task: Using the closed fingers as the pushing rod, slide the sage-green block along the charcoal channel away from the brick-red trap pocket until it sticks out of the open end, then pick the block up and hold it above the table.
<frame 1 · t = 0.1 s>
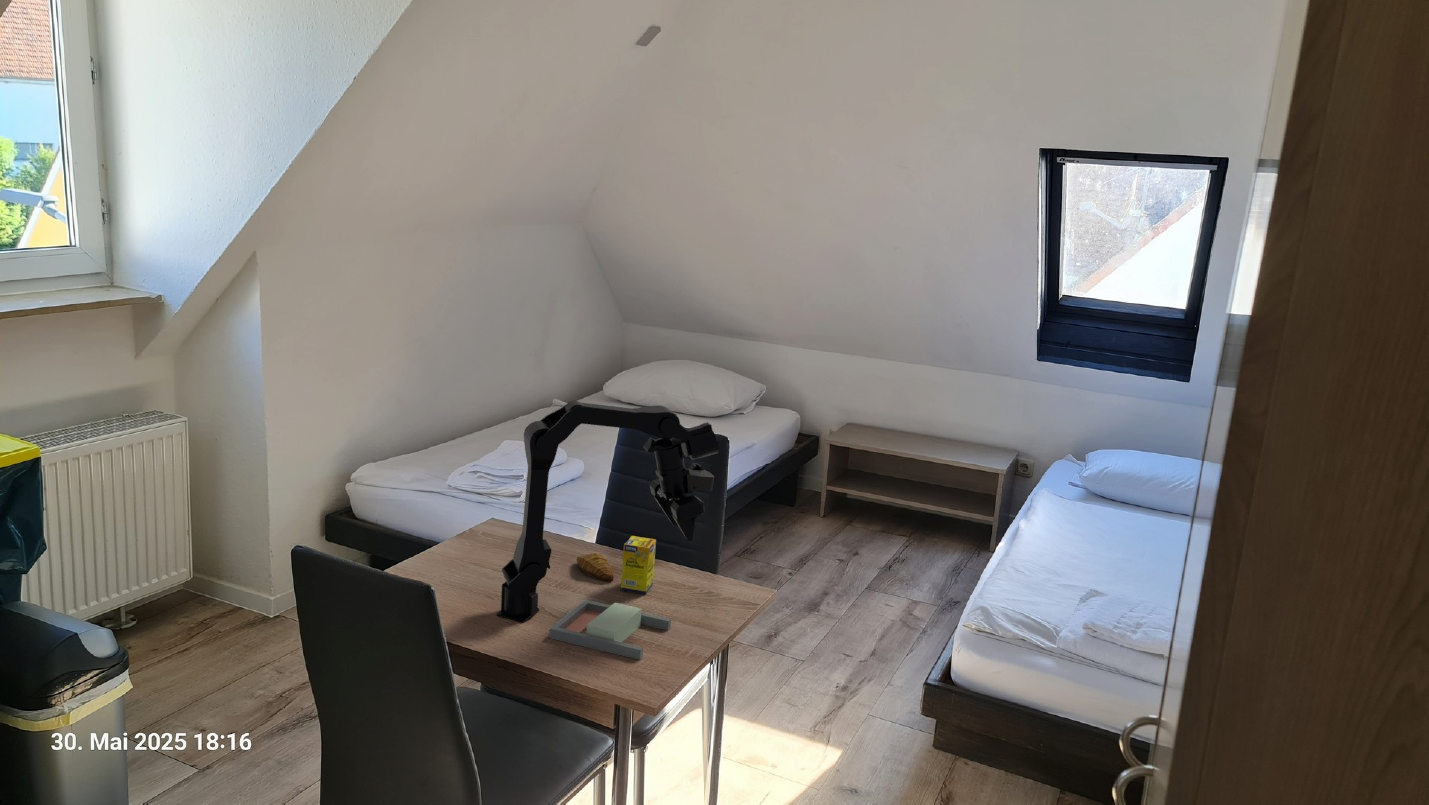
hand: (683, 533, 211), 15 cm above the table, tool pointing down, fingers open, 9 cm apart
block: (613, 635, 196), on the table
supplement box: (637, 588, 219), on the table
croissant: (594, 574, 225), on the table
channel: (613, 633, 196), on the table
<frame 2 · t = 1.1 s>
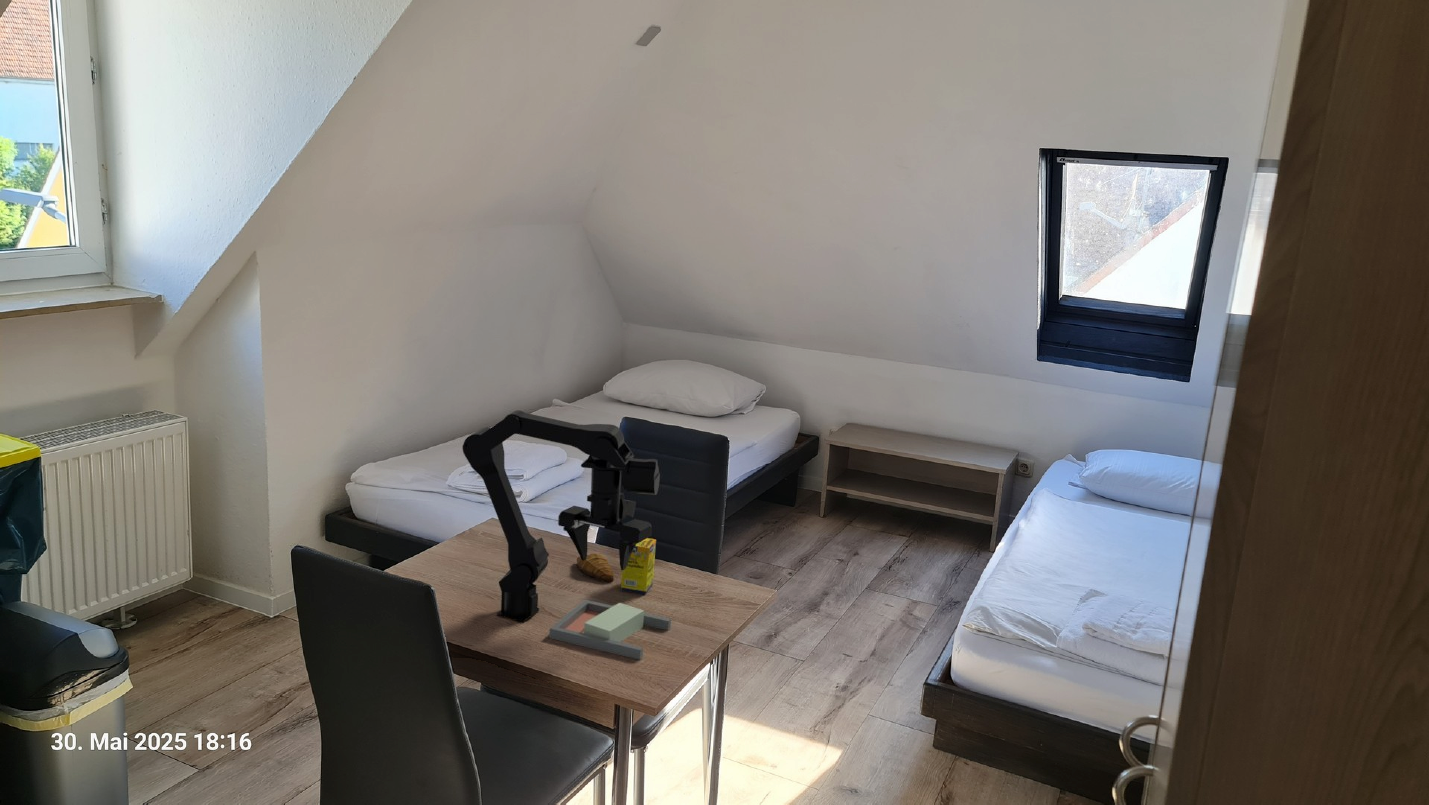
hand: (603, 564, 197), 13 cm above the table, tool pointing down, fingers open, 9 cm apart
nothing on the table moved.
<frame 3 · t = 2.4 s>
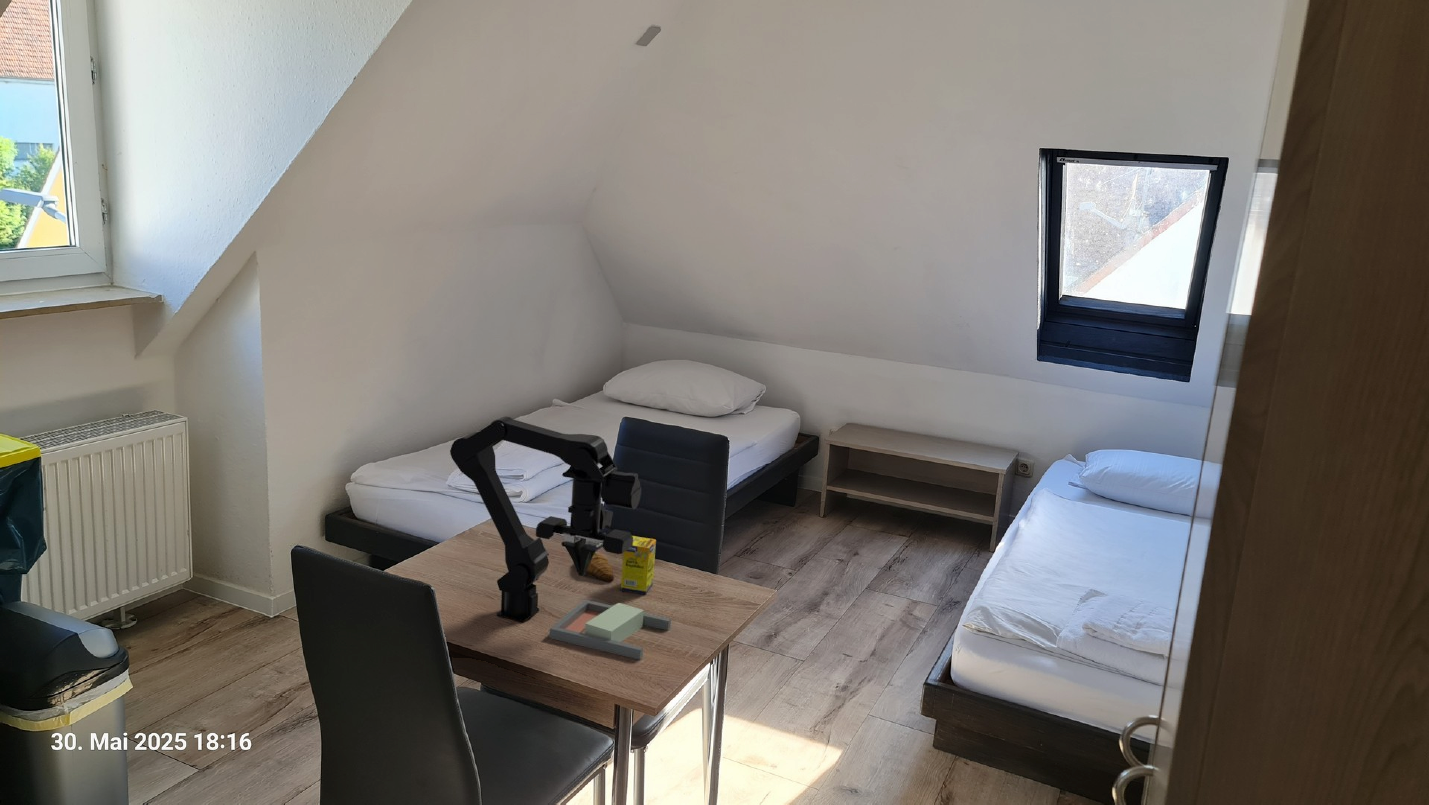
hand: (582, 575, 196), 11 cm above the table, tool pointing down, fingers closed
nothing on the table moved.
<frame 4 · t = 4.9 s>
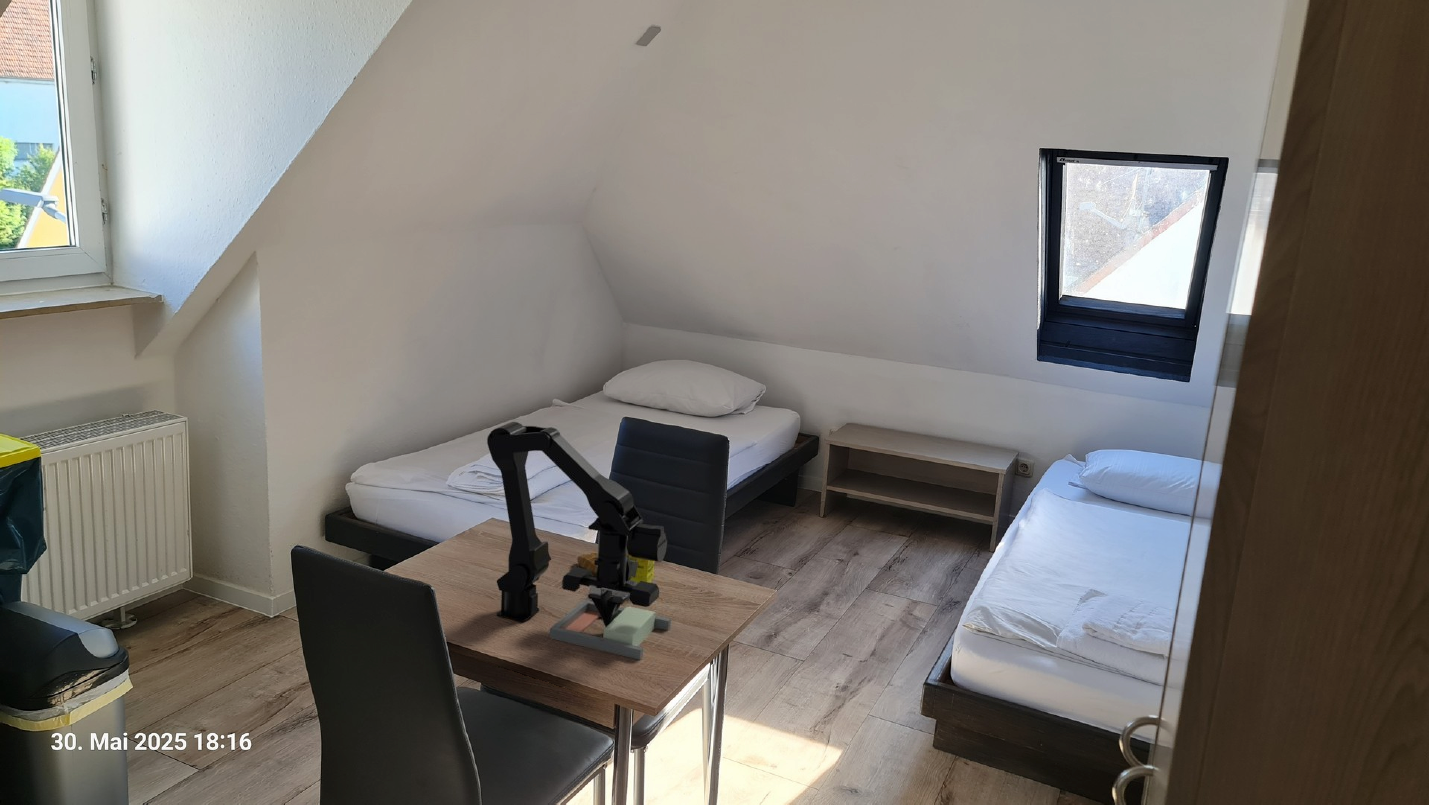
hand: (608, 626, 196), 1 cm above the table, tool pointing down, fingers closed
block: (628, 639, 195), on the table
everything else where it was.
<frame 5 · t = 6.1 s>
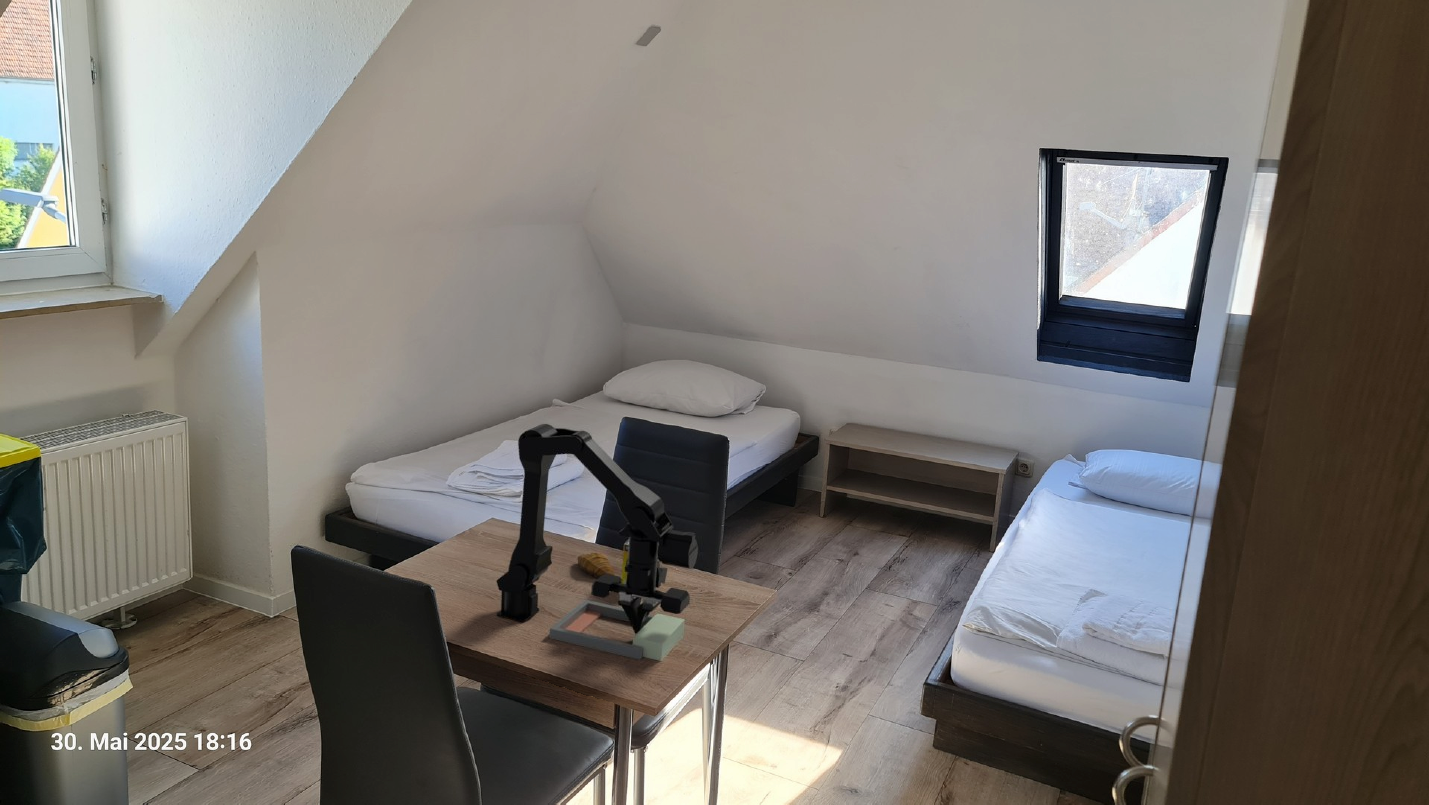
hand: (637, 633, 194), 1 cm above the table, tool pointing down, fingers closed
block: (658, 647, 193), on the table
everything else where it was.
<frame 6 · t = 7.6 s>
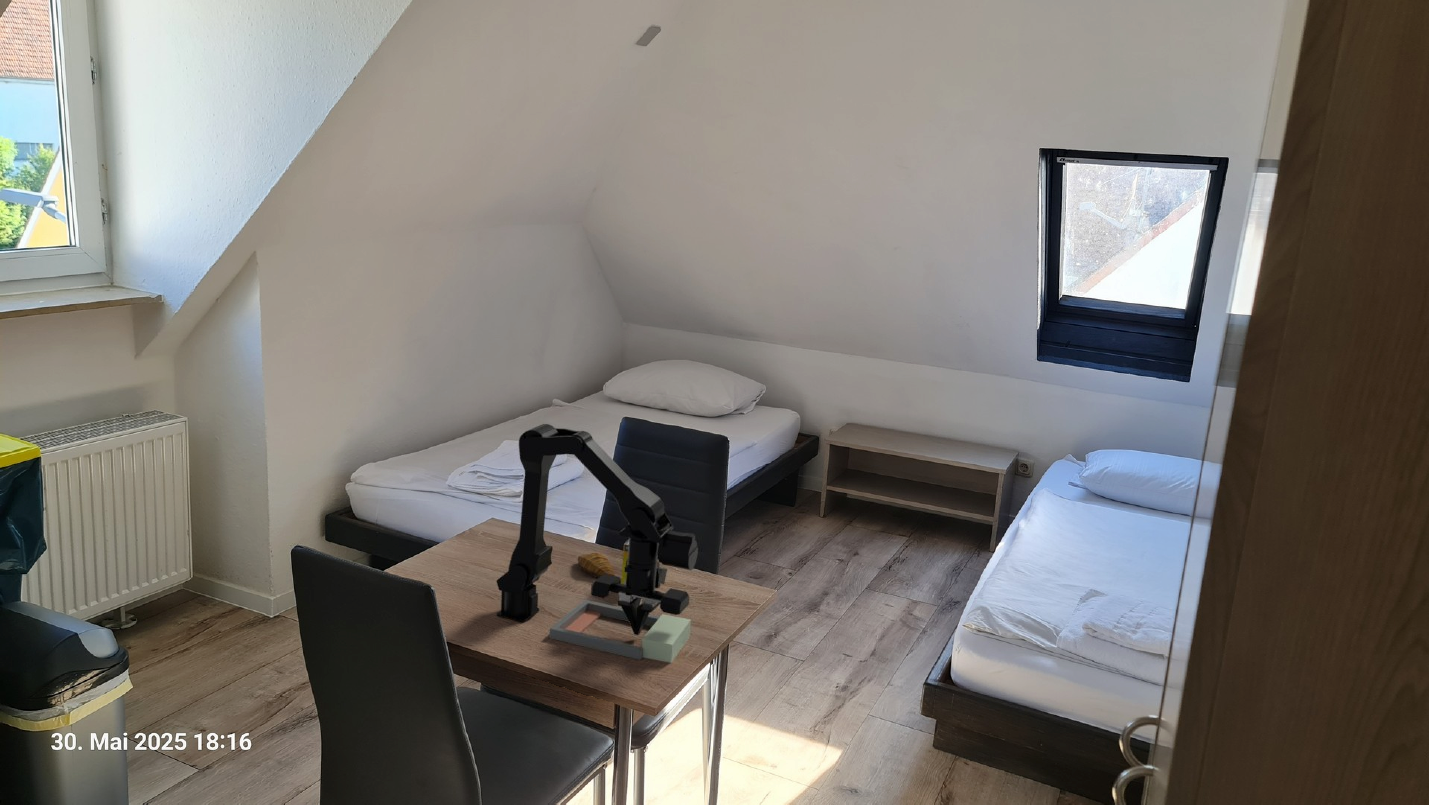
hand: (637, 634, 194), 1 cm above the table, tool pointing down, fingers closed
block: (665, 648, 193), on the table
everything else where it was.
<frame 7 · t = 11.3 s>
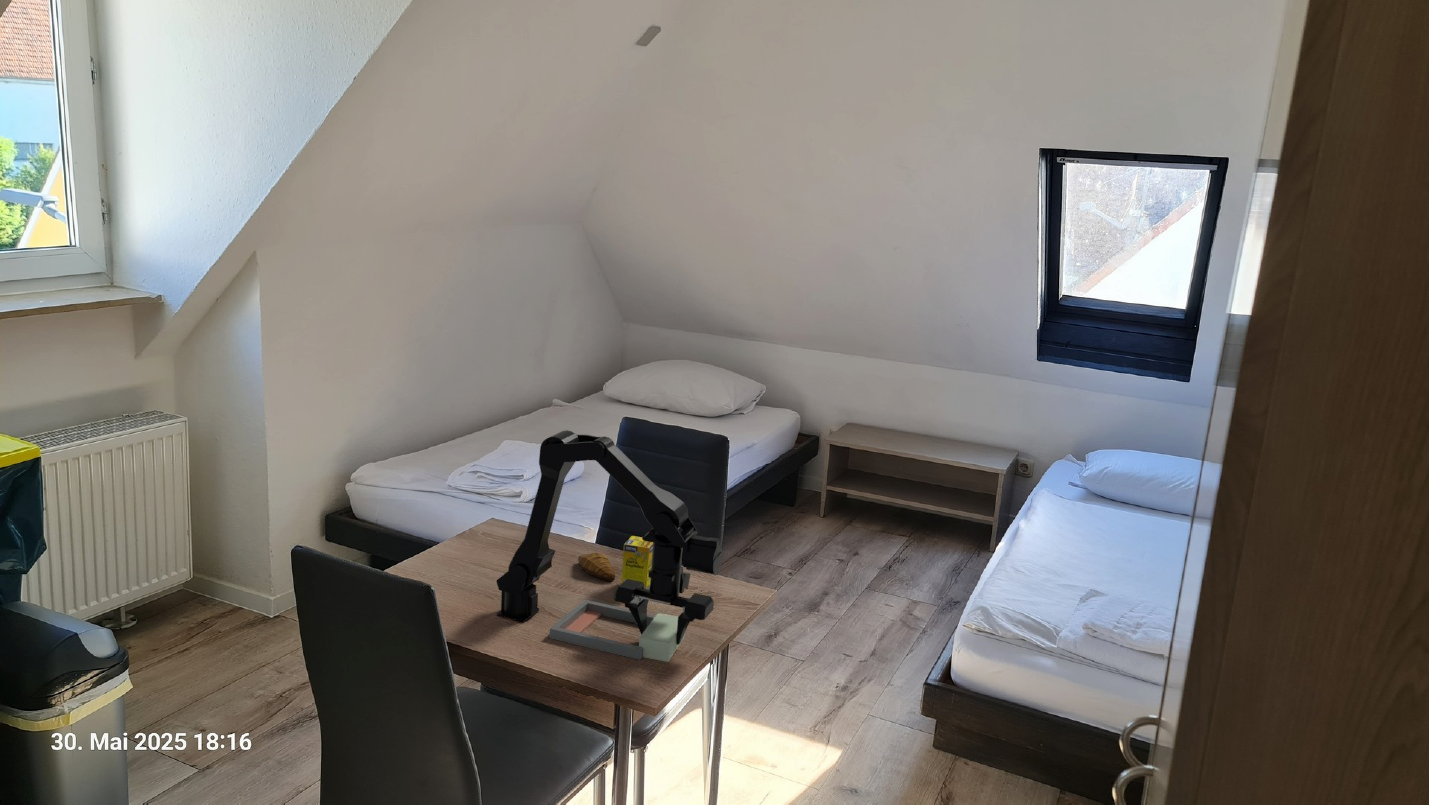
hand: (661, 639, 193), 1 cm above the table, tool pointing down, fingers open, 7 cm apart
nothing on the table moved.
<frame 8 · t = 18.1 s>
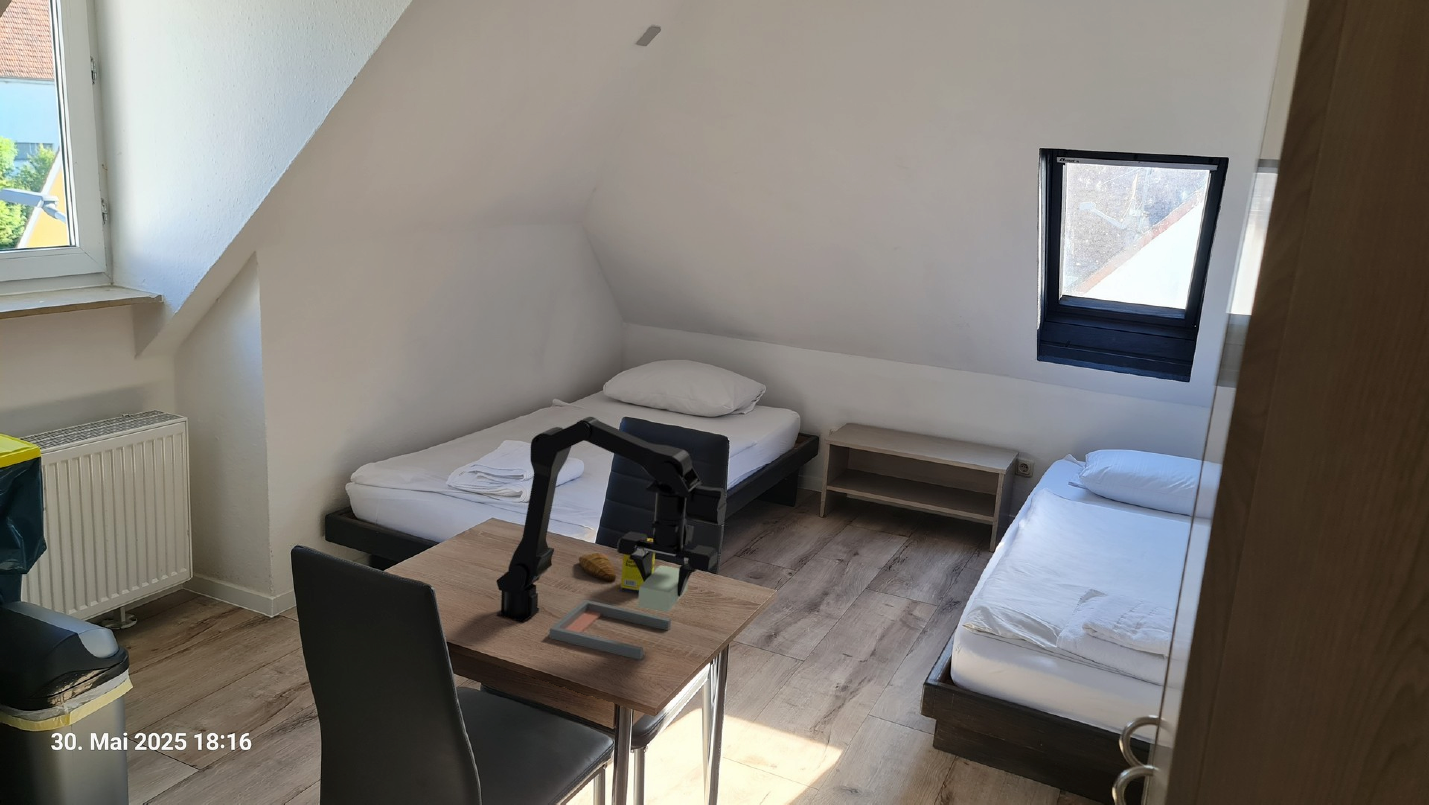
hand: (664, 592, 191), 11 cm above the table, tool pointing down, fingers closed on block, 6 cm apart
block: (663, 597, 191), point 10 cm above the table, touching gripper
everything else where it was.
at the end: the gripper is holding block; block inside the target area (1.2 cm from its centre), point 9.9 cm above the table; block moved 14.1 cm from its start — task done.
